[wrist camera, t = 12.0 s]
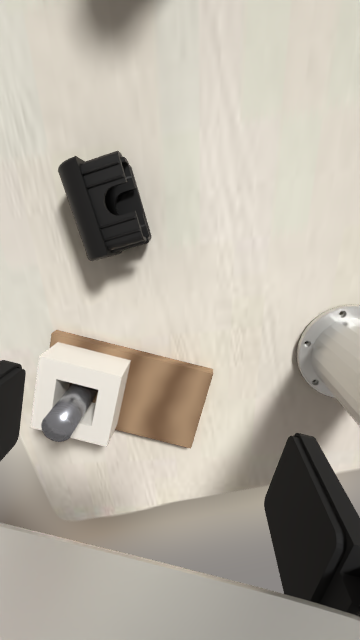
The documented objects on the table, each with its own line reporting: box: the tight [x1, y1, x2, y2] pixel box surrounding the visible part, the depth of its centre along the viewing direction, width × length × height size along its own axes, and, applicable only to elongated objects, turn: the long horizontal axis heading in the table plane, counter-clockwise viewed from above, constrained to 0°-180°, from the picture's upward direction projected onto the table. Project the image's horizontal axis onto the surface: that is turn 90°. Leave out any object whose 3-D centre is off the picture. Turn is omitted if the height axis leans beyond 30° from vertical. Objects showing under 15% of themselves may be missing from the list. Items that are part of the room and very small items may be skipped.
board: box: [50, 330, 213, 448], centre depth 43 cm, size 22×12×2 cm, turn 76°
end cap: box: [58, 151, 151, 261], centre depth 35 cm, size 10×7×7 cm
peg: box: [41, 383, 98, 442], centre depth 38 cm, size 3×3×10 cm
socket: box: [30, 342, 131, 447], centre depth 40 cm, size 10×10×5 cm
